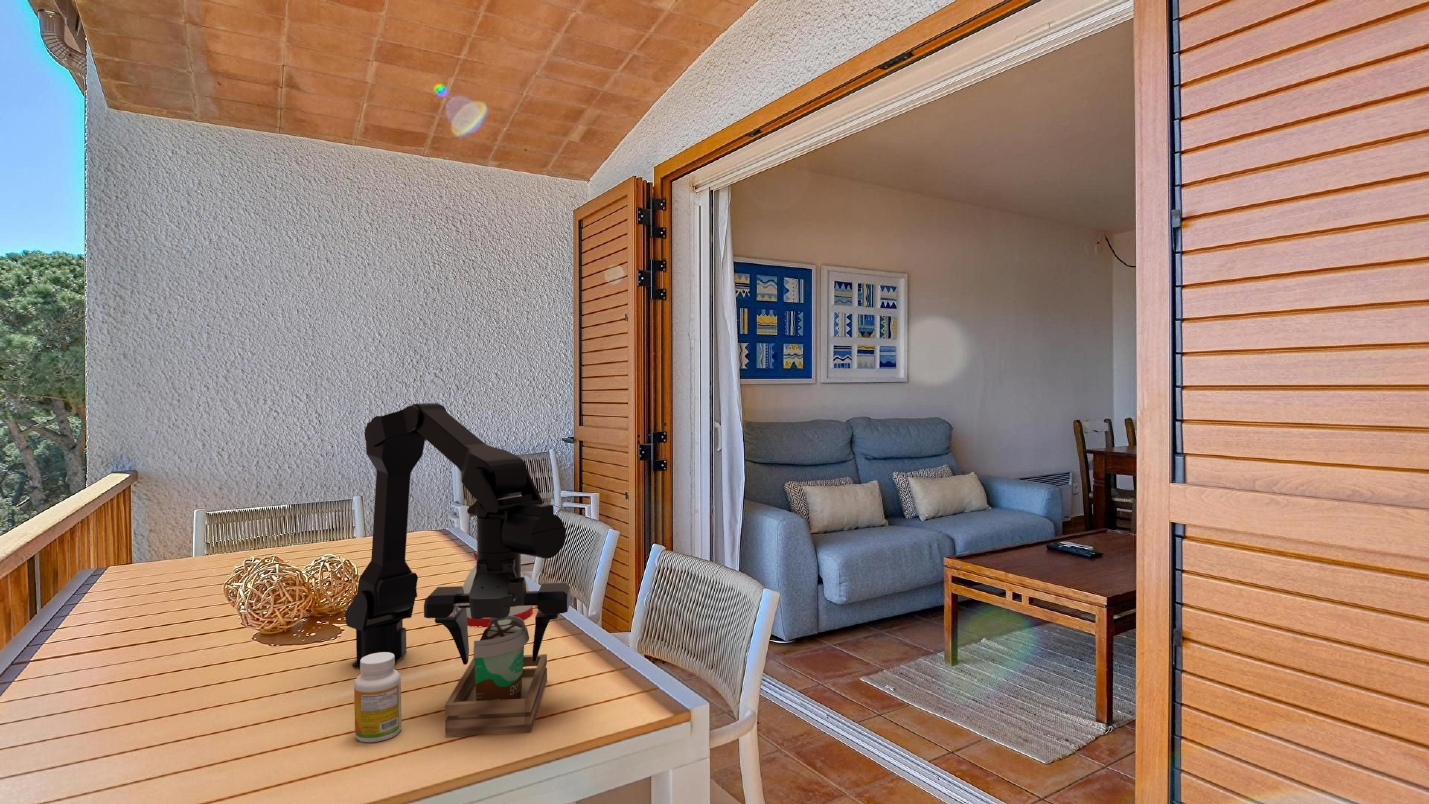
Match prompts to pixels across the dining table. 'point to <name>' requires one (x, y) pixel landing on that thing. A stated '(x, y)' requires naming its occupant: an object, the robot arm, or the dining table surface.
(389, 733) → the supplement bottle
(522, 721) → the tray
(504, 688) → the food container
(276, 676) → the dining table surface
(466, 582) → the kitchen timer
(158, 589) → the dining table surface
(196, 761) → the dining table surface
